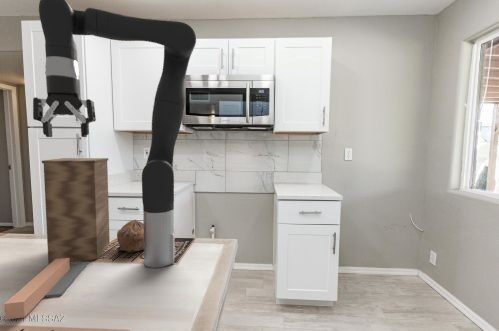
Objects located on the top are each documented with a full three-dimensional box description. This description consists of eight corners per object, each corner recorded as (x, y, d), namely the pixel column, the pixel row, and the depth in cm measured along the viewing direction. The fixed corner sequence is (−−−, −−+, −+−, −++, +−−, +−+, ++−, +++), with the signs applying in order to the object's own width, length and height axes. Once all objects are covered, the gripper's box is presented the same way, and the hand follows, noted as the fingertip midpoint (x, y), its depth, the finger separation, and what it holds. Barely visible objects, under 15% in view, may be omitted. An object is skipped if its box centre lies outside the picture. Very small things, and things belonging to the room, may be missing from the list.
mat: (88, 263, 82) (88, 261, 82) (61, 295, 65) (61, 293, 65) (64, 265, 81) (64, 263, 81) (31, 299, 63) (30, 296, 63)
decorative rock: (121, 243, 100) (121, 217, 99) (152, 240, 102) (152, 216, 102) (112, 257, 87) (111, 228, 86) (147, 254, 90) (147, 226, 89)
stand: (110, 242, 99) (108, 158, 97) (98, 259, 85) (94, 160, 83) (67, 245, 96) (63, 158, 93) (46, 263, 82) (41, 160, 79)
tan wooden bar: (69, 269, 77) (69, 257, 77) (24, 317, 56) (23, 301, 56) (56, 270, 76) (55, 258, 76) (5, 319, 55) (4, 303, 55)
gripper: (96, 82, 76) (99, 137, 78) (40, 79, 73) (43, 137, 74) (87, 75, 69) (90, 136, 71) (24, 72, 66) (29, 136, 67)
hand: (66, 137), depth 72 cm, fingers open, 8 cm apart
